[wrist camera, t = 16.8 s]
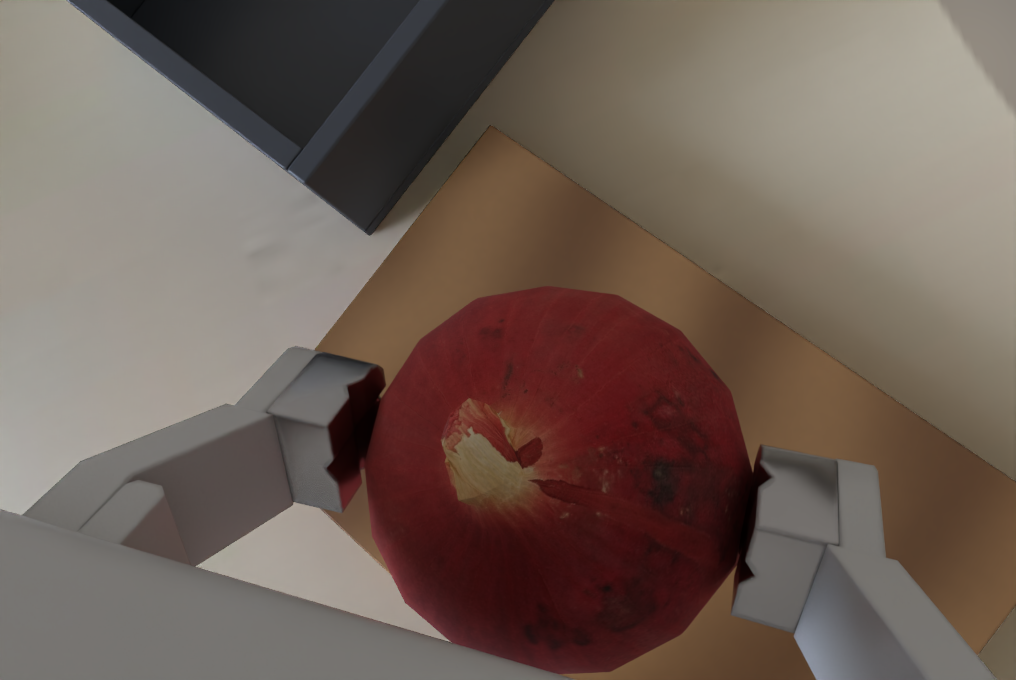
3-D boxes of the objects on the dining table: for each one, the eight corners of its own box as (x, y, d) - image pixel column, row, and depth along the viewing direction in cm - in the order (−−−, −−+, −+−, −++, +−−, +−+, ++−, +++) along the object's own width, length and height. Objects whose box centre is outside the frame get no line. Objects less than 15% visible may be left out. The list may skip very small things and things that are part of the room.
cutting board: (267, 441, 27) (243, 438, 25) (500, 142, 27) (489, 123, 26) (763, 899, 21) (768, 929, 20) (1053, 521, 21) (1079, 524, 20)
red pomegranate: (758, 364, 15) (836, 243, 8) (704, 663, 15) (729, 858, 7) (480, 313, 17) (312, 168, 9) (417, 583, 16) (176, 670, 8)
